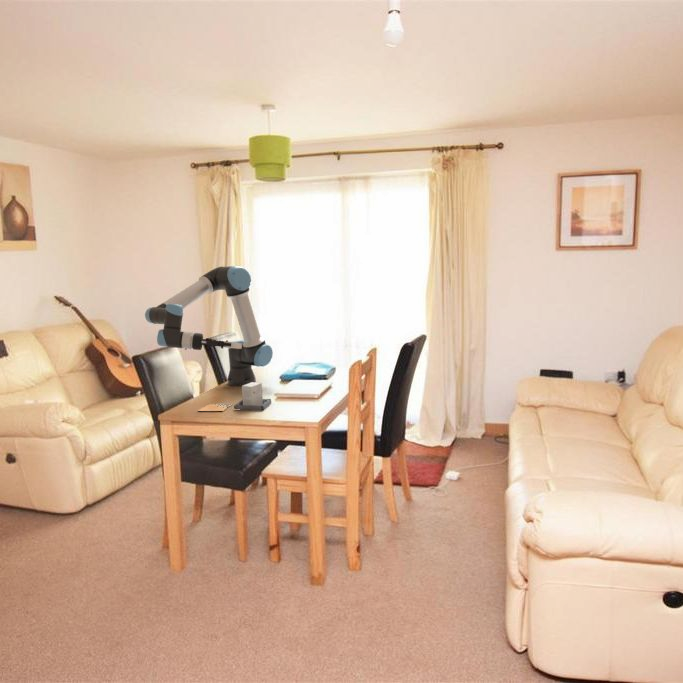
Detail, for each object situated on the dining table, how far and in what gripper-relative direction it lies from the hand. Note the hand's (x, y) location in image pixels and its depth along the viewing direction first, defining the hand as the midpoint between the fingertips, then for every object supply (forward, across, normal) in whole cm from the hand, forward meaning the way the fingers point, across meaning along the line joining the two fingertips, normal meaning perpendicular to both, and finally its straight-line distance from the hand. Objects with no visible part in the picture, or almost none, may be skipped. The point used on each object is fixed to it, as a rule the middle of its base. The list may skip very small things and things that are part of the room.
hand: (240, 345), depth 261 cm
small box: (+9, +1, -27) cm, 28 cm away
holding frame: (+9, +1, -27) cm, 28 cm away
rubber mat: (-8, -1, -29) cm, 30 cm away
